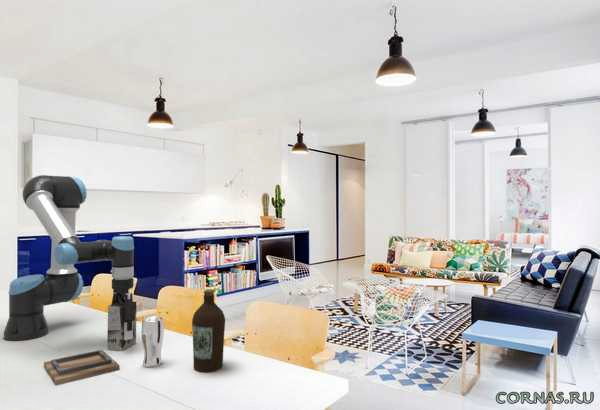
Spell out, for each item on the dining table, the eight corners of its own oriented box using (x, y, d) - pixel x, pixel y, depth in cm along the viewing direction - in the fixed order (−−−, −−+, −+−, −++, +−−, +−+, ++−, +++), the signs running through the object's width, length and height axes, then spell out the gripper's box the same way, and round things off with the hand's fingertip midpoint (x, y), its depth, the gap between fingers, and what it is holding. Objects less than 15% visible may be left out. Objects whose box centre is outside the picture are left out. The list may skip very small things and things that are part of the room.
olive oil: (202, 359, 144) (203, 286, 144) (230, 363, 141) (230, 289, 141) (185, 370, 134) (185, 293, 134) (214, 375, 131) (215, 295, 131)
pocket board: (43, 366, 136) (43, 358, 136) (102, 354, 148) (102, 346, 148) (55, 385, 123) (55, 376, 123) (119, 369, 135) (119, 361, 135)
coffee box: (122, 351, 151) (122, 306, 151) (106, 349, 153) (106, 305, 153) (137, 343, 160) (137, 301, 160) (121, 341, 162) (122, 300, 161)
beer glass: (167, 361, 142) (168, 317, 142) (154, 369, 135) (154, 322, 135) (150, 359, 144) (151, 315, 144) (136, 366, 137) (137, 320, 137)
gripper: (102, 274, 163) (101, 329, 163) (123, 283, 145) (123, 345, 145) (122, 272, 168) (121, 325, 168) (145, 281, 149) (144, 341, 149)
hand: (122, 334), depth 156 cm, fingers open, 13 cm apart
